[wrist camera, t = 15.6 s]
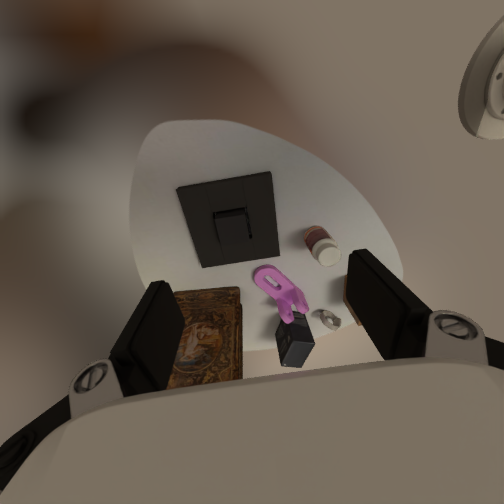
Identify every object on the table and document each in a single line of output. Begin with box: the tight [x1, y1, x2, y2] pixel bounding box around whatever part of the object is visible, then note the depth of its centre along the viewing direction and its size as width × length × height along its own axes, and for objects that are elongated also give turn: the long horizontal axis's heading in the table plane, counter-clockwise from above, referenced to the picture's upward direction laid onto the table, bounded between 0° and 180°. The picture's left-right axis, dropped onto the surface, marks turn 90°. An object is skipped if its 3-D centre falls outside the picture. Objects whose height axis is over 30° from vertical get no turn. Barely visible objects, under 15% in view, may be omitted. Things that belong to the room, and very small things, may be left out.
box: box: [275, 311, 315, 368], centre depth 52 cm, size 9×6×10 cm, turn 166°
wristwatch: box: [320, 311, 341, 331], centre depth 53 cm, size 3×5×5 cm, turn 62°
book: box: [166, 287, 243, 390], centre depth 40 cm, size 16×6×25 cm, turn 94°
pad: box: [214, 207, 250, 246], centre depth 40 cm, size 5×5×4 cm
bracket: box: [254, 265, 309, 324], centre depth 47 cm, size 13×6×7 cm, turn 43°
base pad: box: [176, 171, 280, 268], centre depth 40 cm, size 16×16×2 cm
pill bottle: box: [304, 226, 341, 266], centre depth 40 cm, size 5×5×8 cm
